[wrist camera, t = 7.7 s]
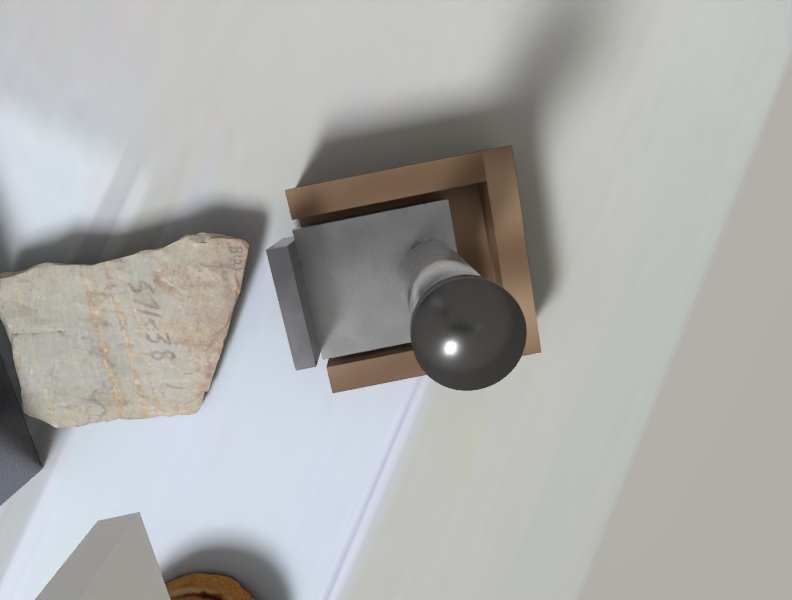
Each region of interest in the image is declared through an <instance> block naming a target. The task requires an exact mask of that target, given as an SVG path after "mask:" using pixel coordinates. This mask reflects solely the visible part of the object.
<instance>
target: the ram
mask: <svg viewBox="0 0 792 600" xmlns="http://www.w3.org/2000/svg"><path fill="white" fill-rule="evenodd" d="M293 234H294V236H292V237H287V238H283V239H282V240H280V241H279V242H277V243H276V244H274V245H273V246H271V247H270V248H268V249H267V250H266V252H267V256H268V260H269V264H270V268H271V272H272V276H273V280H274V284H275V288H276V292H277V296H278V301H279V305H280V309H281V313H282V317H283V321H284V325H285V329H286V333H287V337H288V341H289V345H290V349H291V353H292V357H293V361H294V365H295V369H296V370H301V369H306V368H311V367H316V365H317V362H318V358H319V355H320V352H321V354H322V358H323V360H324V359H329V358H334V357H339V356H344V355H349V354H354V353H359V352H364V351H369V350H374V349H379V348H385V347H390V346H395V345H400V344H405V343H410V342H411V344H412V348H413V352H414V355H415V357H416V360H417V362H418V364H419V365H420V367H421V368H422V369H423V371H424V372H425V373H426V374H427V375H428V376H429V377H430V378H431V379H433V380H434V381H436V382H437V383H439V384H441V385H443V386H445V387H448V388H451V389H455V390H463V391H470V390H478V389H482V388H486V387H488V386H491V385H493V384H495V383H497V382H499V381H500V380H502V379H503V378H504V377H506V376H507V375H508V374H509V373H510V372H511V371H512V370H513V369H514V367H515V366H516V365H517V363H518V362H519V360H520V358H521V356H522V354H523V351H524V348H525V344H526V337H527V328H526V321H525V317H524V314H523V312H522V310H521V308H520V306H519V304H518V303H517V301H516V300H515V299H514V298H513V296H512V295H511V294H510V293H509V292H507V291H506V290H505V289H504V288H503V287H501V286H500V285H499V284H498V283H496V282H494V281H492V280H490V279H488V278H485V277H482V276H481V275H480V274H478V273H477V272H476V271H475V270H474V269H473V268H472V267H471V266H470V265H469V264H468V263H467V262H466V261H464V260H463V259H462V258H461V257H460V256H459V255H458V254H457V248H456V242H455V236H454V230H453V224H452V218H451V212H450V207H449V201H448V199H446V198H443V197H442V198H437V199H432V200H426V201H421V202H416V203H411V204H406V205H401V206H396V207H391V208H386V209H381V210H376V211H371V212H366V213H361V214H356V215H351V216H346V217H341V218H336V219H331V220H326V221H321V222H316V223H311V224H306V225H301V226H298V227H296V228H295V229H293Z"/></svg>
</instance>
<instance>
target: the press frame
mask: <svg viewBox="0 0 792 600" xmlns="http://www.w3.org/2000/svg"><path fill="white" fill-rule="evenodd" d="M285 192H286V196H287V200H288V205H289V209H290V213H291V218H292V220H294V219H299V220H300V224H301V225H306V224H311V223H316V222H321V221H326V220H331V219H336V218H341V217H346V216H351V215H356V214H361V213H366V212H371V211H376V210H381V209H386V208H391V207H396V206H401V205H406V204H411V203H416V202H421V201H426V200H432V199H437V198H442V197H443V198H446V199H448V201H449V207H450V212H451V218H452V224H453V230H454V236H455V242H456V248H457V254H458V255H459V256H460V257H461V258H462V259H463V260H464V261H466V262H467V263H468V264H469V265H470V266H471V267H472V268H473V269H474V270H475V271H476V272H477V273H478V274H480V275H481V276H482V277H485V278H488V279H490V280H492V281H494V282H496V283H498V284H499V285H500V286H501V287H503V288H504V289H505V290H506V291H507V292H509V293H510V294H511V295H512V296H513V298H514V299H515V300H516V301H517V303H518V304H519V306H520V308H521V310H522V312H523V314H524V317H525V321H526V328H527V337H526V344H525V348H524V351H523V354H522V356H524V355H529V354H534V353H539V352H541V347H540V340H539V333H538V326H537V319H536V312H535V305H534V298H533V290H532V283H531V276H530V269H529V262H528V255H527V248H526V241H525V234H524V227H523V220H522V213H521V206H520V199H519V192H518V185H517V178H516V171H515V164H514V157H513V149H512V145H509V146H504V147H499V148H494V149H489V150H484V151H479V152H474V153H469V154H464V155H459V156H454V157H449V158H444V159H439V160H433V161H428V162H423V163H418V164H413V165H408V166H403V167H398V168H393V169H388V170H383V171H378V172H373V173H368V174H363V175H358V176H353V177H348V178H343V179H338V180H333V181H328V182H323V183H318V184H313V185H308V186H303V187H298V188H293V189H288V190H285ZM327 371H328V376H329V380H330V384H331V388H332V393H336V392H341V391H347V390H352V389H357V388H362V387H367V386H372V385H377V384H382V383H387V382H392V381H397V380H402V379H407V378H413V377H418V376H423V375H427V374H426V373H425V372H424V371H423V369H422V368H421V367H420V365H419V364H418V362H417V360H416V357H415V355H414V352H413V348H412V344H411V342H410V343H405V344H400V345H395V346H390V347H385V348H379V349H374V350H369V351H364V352H359V353H354V354H349V355H344V356H339V357H334V358H329V360H328V364H327Z"/></svg>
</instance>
